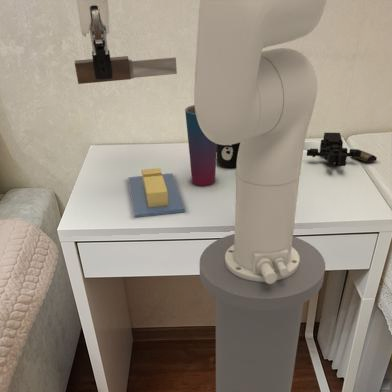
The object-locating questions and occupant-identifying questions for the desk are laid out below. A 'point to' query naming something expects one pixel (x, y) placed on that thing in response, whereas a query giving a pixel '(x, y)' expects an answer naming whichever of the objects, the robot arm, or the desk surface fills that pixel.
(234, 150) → the beverage can
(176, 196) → the butter plate
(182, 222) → the desk surface
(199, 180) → the cup
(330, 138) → the toy
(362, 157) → the block
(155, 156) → the desk surface
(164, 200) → the butter bar
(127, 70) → the knife
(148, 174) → the butter pat
